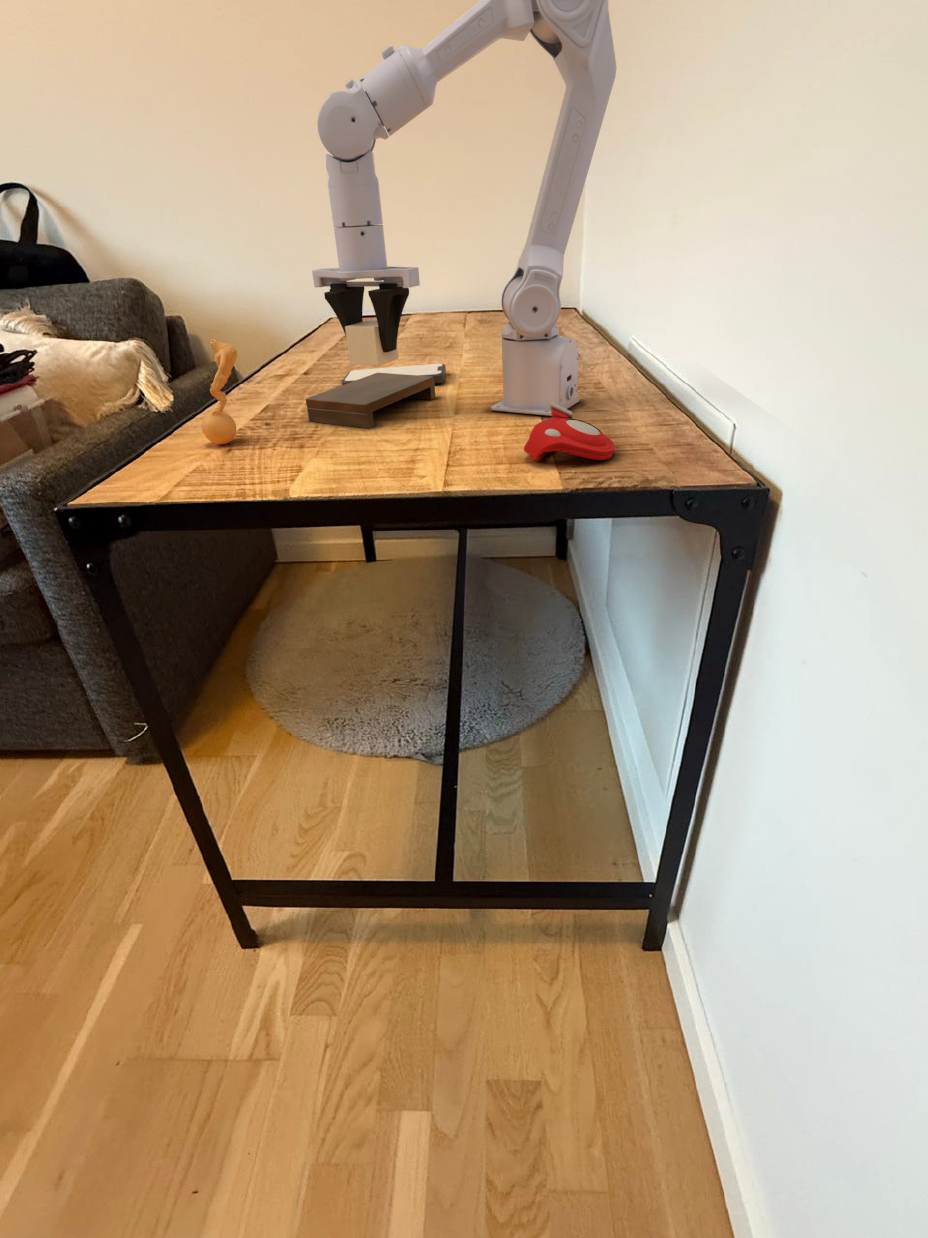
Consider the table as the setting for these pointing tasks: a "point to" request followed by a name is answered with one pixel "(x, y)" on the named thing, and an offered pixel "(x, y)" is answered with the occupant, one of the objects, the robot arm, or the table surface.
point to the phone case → (401, 372)
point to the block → (367, 345)
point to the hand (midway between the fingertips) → (373, 349)
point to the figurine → (220, 396)
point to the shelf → (366, 398)
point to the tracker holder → (568, 437)
